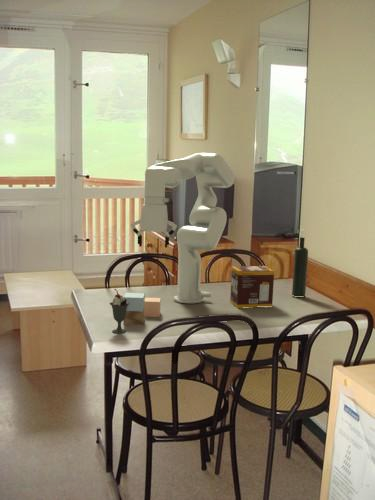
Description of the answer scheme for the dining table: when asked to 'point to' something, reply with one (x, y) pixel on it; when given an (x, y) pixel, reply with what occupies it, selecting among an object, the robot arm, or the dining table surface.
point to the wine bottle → (300, 268)
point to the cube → (152, 307)
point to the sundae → (119, 311)
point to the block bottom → (134, 317)
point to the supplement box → (251, 286)
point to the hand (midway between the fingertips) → (153, 246)
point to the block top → (135, 301)
